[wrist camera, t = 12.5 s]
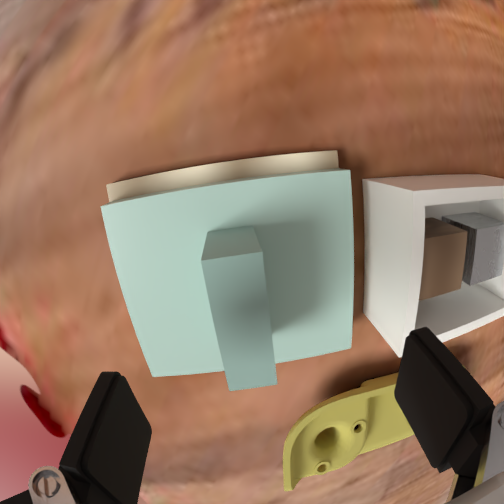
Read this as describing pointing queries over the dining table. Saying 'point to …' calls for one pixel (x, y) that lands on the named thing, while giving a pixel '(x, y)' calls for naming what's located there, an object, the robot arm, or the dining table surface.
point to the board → (223, 172)
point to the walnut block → (442, 258)
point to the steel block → (480, 246)
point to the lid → (237, 273)
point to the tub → (411, 255)
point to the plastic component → (344, 430)
